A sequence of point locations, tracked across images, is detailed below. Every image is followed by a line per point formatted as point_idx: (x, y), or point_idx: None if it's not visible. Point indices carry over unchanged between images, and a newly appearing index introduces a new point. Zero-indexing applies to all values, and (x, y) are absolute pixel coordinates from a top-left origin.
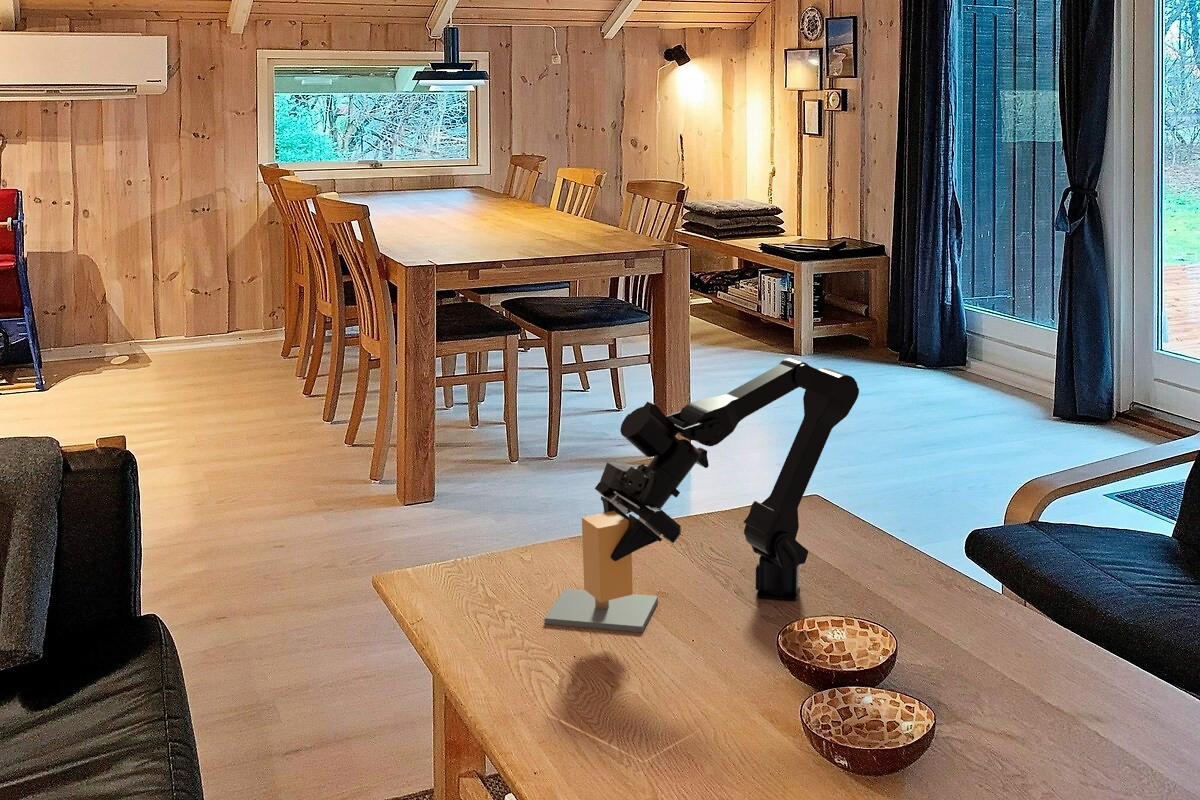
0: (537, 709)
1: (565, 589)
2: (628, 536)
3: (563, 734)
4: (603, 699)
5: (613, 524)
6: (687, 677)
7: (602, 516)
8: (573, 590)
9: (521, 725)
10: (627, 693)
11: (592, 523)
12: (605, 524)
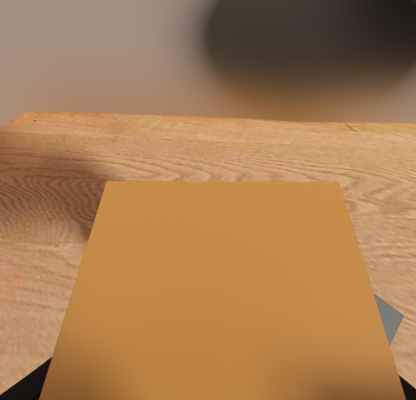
0: (109, 152)
1: (398, 314)
2: (25, 380)
3: (58, 154)
4: (77, 209)
5: (82, 307)
6: (31, 333)
7: (302, 326)
8: (390, 326)
9: (97, 134)
10: (66, 237)
11: (199, 190)
12: (127, 252)
